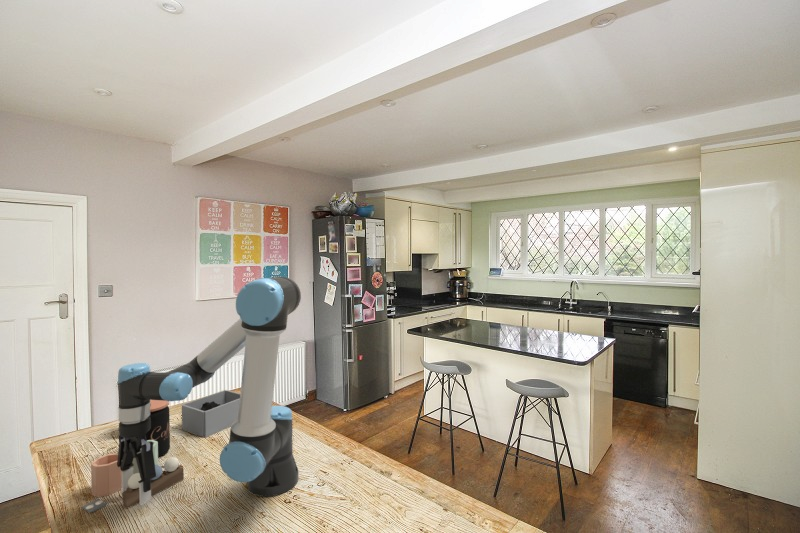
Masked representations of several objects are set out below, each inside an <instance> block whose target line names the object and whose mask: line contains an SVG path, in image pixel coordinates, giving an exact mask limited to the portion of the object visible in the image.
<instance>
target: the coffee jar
mask: <svg viewBox="0 0 800 533" xmlns="http://www.w3.org/2000/svg"><path fill="white" fill-rule="evenodd" d="M150 403H151V406H150V415H149V416H150V417H151V429H150V430H149V431H148V432H147V433H146V439H147V440H155V441H157V442H158V459H161V457H163V456H165V455H167V454H168V452H169V451H170V449H171V433H170V432H171V427H170V407H169V405H170V401H163V400H150Z"/></svg>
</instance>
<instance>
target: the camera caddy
mask: <svg viewBox="0 0 800 533" xmlns="http://www.w3.org/2000/svg"><path fill="white" fill-rule="evenodd" d="M213 401H214V402H215V403H217V404H220V405H219V406H218V407H215V408H213V409H210V410H207V411H202V410H199V409H201V407H202V405H203V404H204V403H205V402H209V403H210V402H213ZM239 402H240V392H236V391H231V390H228V389H224V390H223V389H222V390H221V391H217V392H214V393H212V394H210V395H206V396H203V397H200V398H197V399H195V400H191V401H188V402H186V403H183V404H181V430H182V431H185V432H188V433H191V434H194V435H195V436H198V437H201V438H209V437H210V436H212V435H215V434H217V433H219V432H221V431H224V430H226V429H229V428H231V425H232V423H233V422H234V421H236V420H237V419H238V411H239Z"/></svg>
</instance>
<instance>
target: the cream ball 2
mask: <svg viewBox="0 0 800 533" xmlns="http://www.w3.org/2000/svg"><path fill="white" fill-rule="evenodd" d="M178 465H180V461H179V459H178V458H177V457H174V456H172V457H168V458H167V459H166V460H165V462H164V464H163V469H164V470H165V471H168V472H172V471H174V470H175V469H176V468H177V467H178Z"/></svg>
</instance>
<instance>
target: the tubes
mask: <svg viewBox="0 0 800 533" xmlns="http://www.w3.org/2000/svg"><path fill="white" fill-rule="evenodd" d="M151 441H152V442H153V456H154V463H155V465H159V458H158V442H157V441H155V440H147V442H148V443H149V442H151ZM138 453H141V451H140V452H138ZM138 453H137V454H138ZM117 460H118V452H116V453H109V454H105V455H102V456H99V457H97V458H95V459H94V460H93V461H92V462H91V464H90V478H91V480H90V481H91V484H90V485H91V495H92V496H94V497H96V498H97V499H94V500H91V501H90V502H88V503H86V504H84V505H82V506H81V508H82V509H83V510H84V511H86V512H87V511H88V513H89V514H92V513H94V512H96V511H98V510H101V509H103V508H104V507H107V506H108V503H106V502H105V501H104V500H102V499H100V497H107V496H111V495H113V494H115V493H117V492H118V491H122V471H121V469H120V467H118V466H117ZM121 461H122V460H121ZM132 463H133V464H134V466H132V467H130V468H133V474H136V473H139V469H138V465H137V461H136V458H134V459H133V462H132Z"/></svg>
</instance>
